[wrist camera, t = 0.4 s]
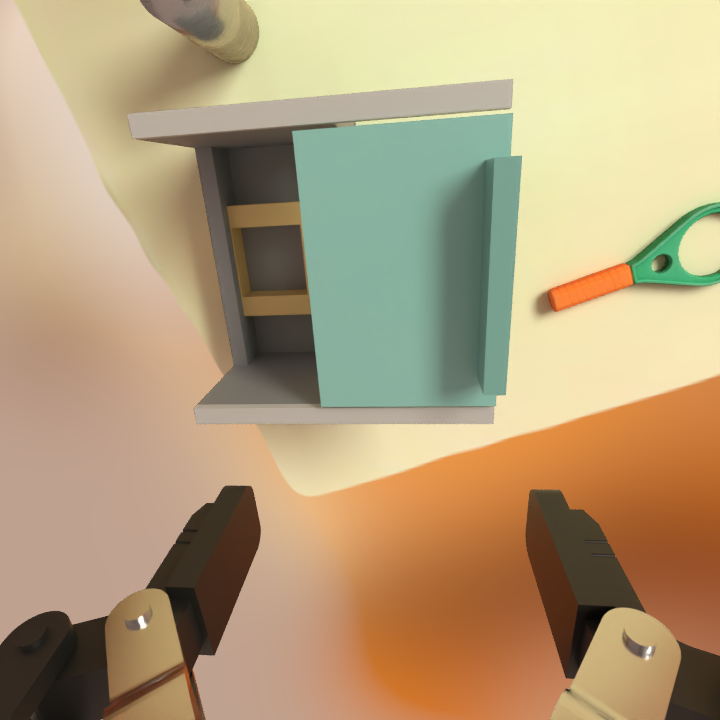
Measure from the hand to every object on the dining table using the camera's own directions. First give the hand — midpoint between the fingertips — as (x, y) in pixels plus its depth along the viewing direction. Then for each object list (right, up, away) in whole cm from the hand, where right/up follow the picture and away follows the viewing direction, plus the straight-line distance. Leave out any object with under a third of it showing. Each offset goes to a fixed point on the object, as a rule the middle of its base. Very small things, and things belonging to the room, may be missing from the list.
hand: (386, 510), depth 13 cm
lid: (+2, +9, +13) cm, 16 cm away
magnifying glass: (+22, +12, +22) cm, 34 cm away
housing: (-2, +13, +24) cm, 27 cm away
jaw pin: (-10, +28, +19) cm, 35 cm away
